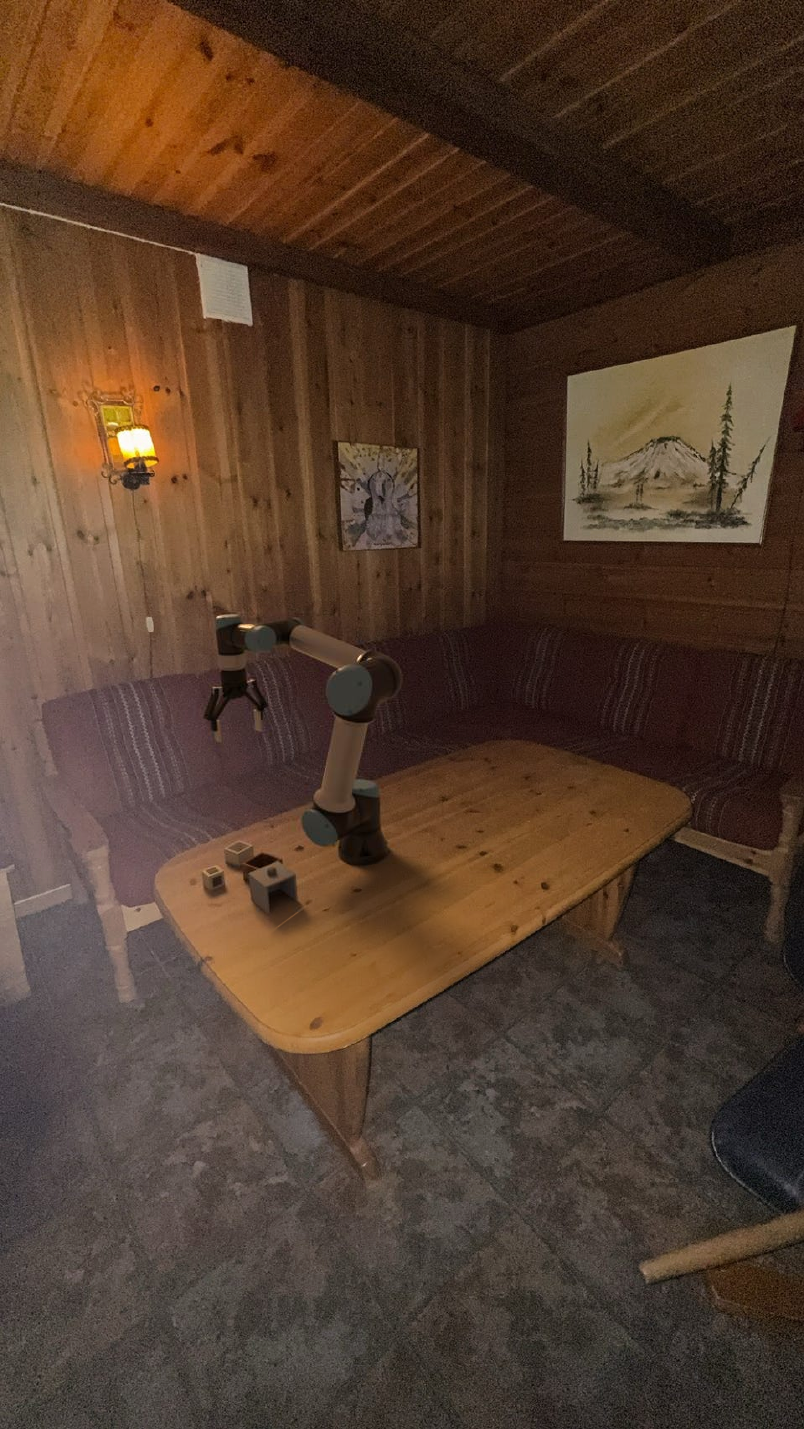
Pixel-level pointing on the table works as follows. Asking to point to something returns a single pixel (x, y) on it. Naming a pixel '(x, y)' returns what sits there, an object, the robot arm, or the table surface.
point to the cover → (271, 883)
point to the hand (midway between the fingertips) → (239, 735)
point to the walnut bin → (258, 863)
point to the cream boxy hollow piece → (213, 877)
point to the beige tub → (238, 853)
